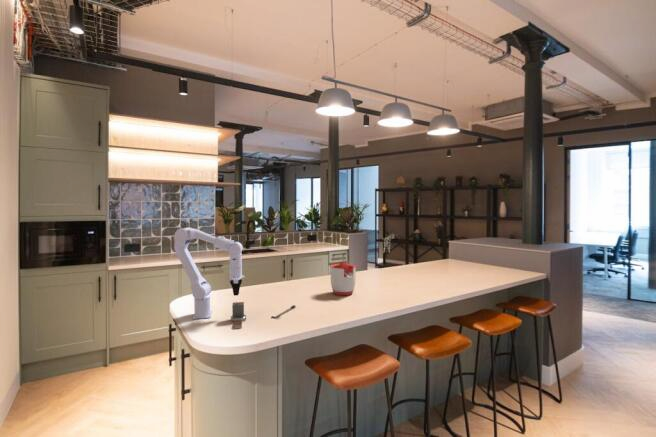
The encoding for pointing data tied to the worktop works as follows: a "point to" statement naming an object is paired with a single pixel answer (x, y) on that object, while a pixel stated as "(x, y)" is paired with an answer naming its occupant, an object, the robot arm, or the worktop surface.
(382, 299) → the worktop surface
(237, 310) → the dark grey block
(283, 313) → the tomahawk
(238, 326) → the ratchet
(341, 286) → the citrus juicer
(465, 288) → the worktop surface
